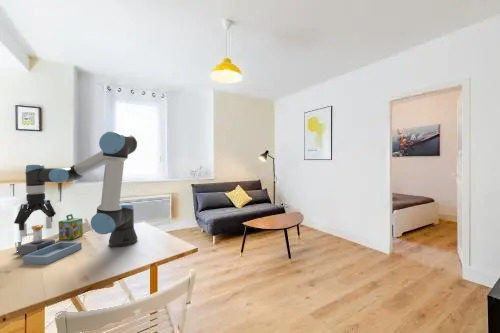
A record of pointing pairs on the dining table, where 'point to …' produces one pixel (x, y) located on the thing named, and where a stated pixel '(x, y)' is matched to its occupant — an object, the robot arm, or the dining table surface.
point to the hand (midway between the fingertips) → (37, 232)
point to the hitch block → (34, 246)
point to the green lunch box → (70, 228)
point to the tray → (52, 253)
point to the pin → (37, 233)
